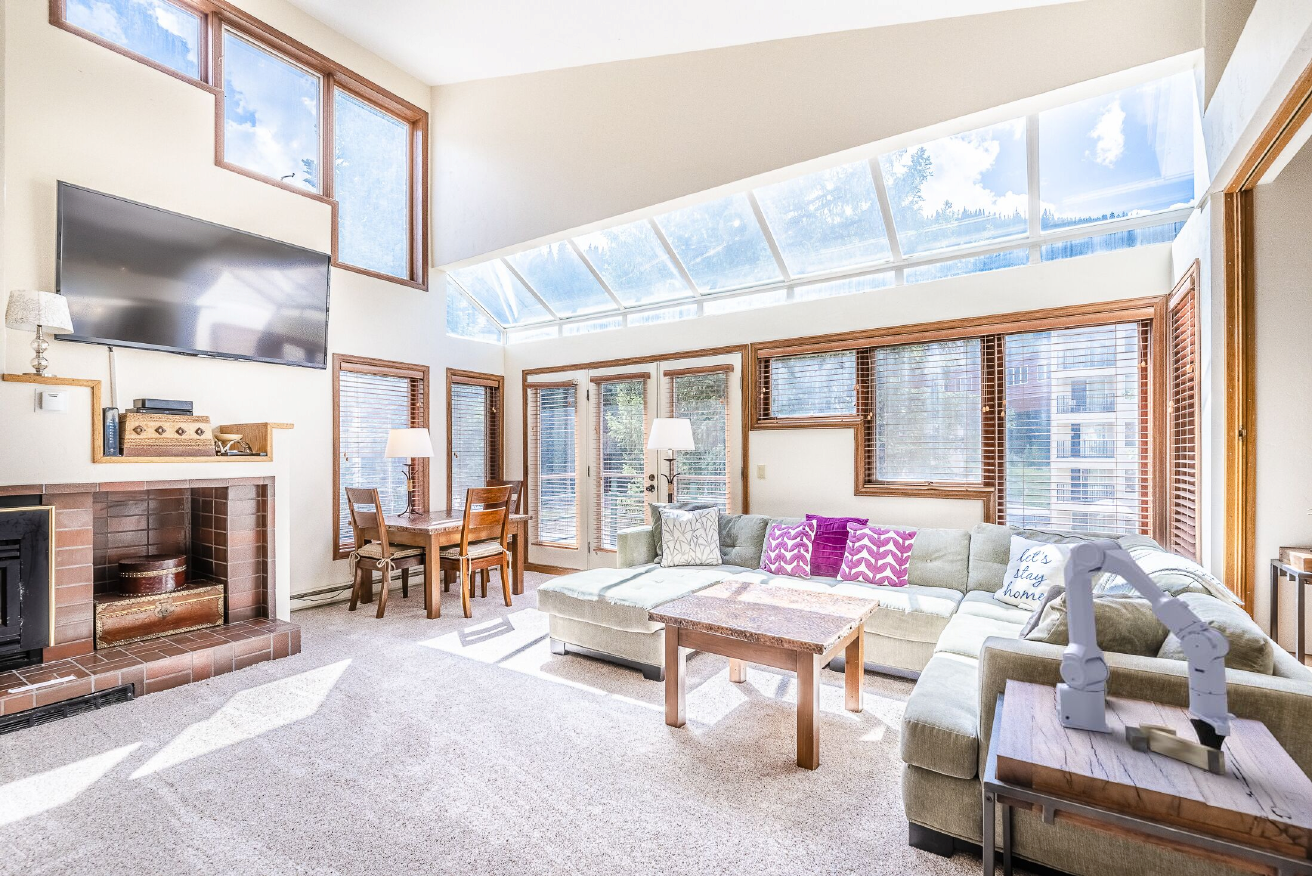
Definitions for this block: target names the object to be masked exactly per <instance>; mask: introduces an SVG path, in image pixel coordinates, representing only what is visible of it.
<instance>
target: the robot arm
mask: <svg viewBox="0 0 1312 876" xmlns="http://www.w3.org/2000/svg"><path fill="white" fill-rule="evenodd" d="M1069 551H1070V555H1069V557H1068V559H1067V561H1066V564H1065V565H1064V567H1063V578H1064V579H1063V580H1064V581H1063V583H1064V591H1065V606H1066V619H1067V629H1068V630H1067V631H1068V644H1067V646H1066V648H1065V649H1064V651H1063V652H1062V661H1061V664H1060V666H1059V672H1060V673H1059V674H1060V676H1061V678H1062V679H1063V681H1064V682H1065V683H1061V682H1060V683H1059V682H1058V683H1056V688H1055V689H1056V714H1057V715H1056V716H1057V718H1058V719H1059V722H1060V723H1061V726H1062V727H1065V728H1074V729H1080V730H1086V731H1091V732H1092V731H1093V732H1100V733H1107V734H1108V733H1109V734H1112V730H1111V728H1110V727H1109V725H1108V724H1107V720H1106V719H1107V718H1106V702H1105V699H1106V698H1104V681H1107V680H1108V679H1109V677H1110V667H1109V665H1108V664H1107V662H1106V660H1105V657H1104V651H1102V649H1101V648H1100V647H1099V646H1098V642H1097V632H1096V631H1097V630H1096V619H1095V607H1094V595H1093V594H1094V593H1093V582H1092V580H1093V578H1094V577H1095V576H1097V575H1098V574H1100V572H1103V573H1107V574H1112V575H1117V576H1120V577H1121V578H1123V579H1122V580H1124V581H1125V582H1127V583H1128V584H1129V585H1130V586H1131V587H1132V588H1133V589H1134V590H1135V591H1137V592H1138V593H1139V595H1141V596H1142V597H1143V598H1144V599H1146V601H1148V602H1149V603H1150V604H1151V607H1152V608H1151V611H1152V614H1153V615H1154V616H1155V617H1156V618H1157V619H1158V620H1159V621H1160V622H1161V624H1163V625H1164V626H1165V627H1166V629H1168V631H1170V632H1171V633H1172V634H1173V635H1174V636H1175V637H1176V638H1177V639H1178V640H1179V641H1180V642H1179V645H1180V649H1181V651H1183V653H1184V654H1185V655H1186V658H1187V674H1188V675H1187V677H1188V692H1189V693H1188V694H1189V695H1188V696H1189V707H1188V713H1189V714H1190V715H1191V716H1193V717H1196V718H1189V722H1190V724H1191V725H1192V727H1193V728H1194V730H1195V733H1196V735H1197V737H1198V741H1199V744H1201V745H1204V746H1207V747H1210V748H1215V749H1218V750H1221V751H1222V746H1223V743H1224V741H1225V739H1226V738H1227V737H1231V736H1232V735H1231V726H1230V721H1236V720H1237V718H1236V715H1234V714H1233V713H1230V712H1229V711H1228V710H1229V709H1228V696H1227V695H1228V694H1227V680H1226V679H1227V677H1226V666H1225V664H1226V663H1225V657H1224V656H1225V655H1227V654H1228V652H1229V651H1230V643H1229V641H1228V639H1227V637H1226V635H1224V633H1223V632H1222V631H1221V630H1219V629H1217V628H1214V627H1211V626H1210V625H1209V624H1208V623H1207V622H1206V621H1205V622H1204V621H1203V620H1201V618H1199V616H1197V615H1196V614H1195V613H1194V612H1193V611H1192V610H1191V608H1189V607H1190V604H1189V603H1188V602H1187V601H1185V600H1181V599H1179V598H1178V597H1174V596H1169V595H1167V594H1166V592H1164V591H1163V589H1161V588H1160V586H1158V584H1157V583H1156V582H1155V581H1154V580H1153V579H1152V578H1151V577H1150V575H1148V573H1146V572H1145V571H1144V570H1143V568H1142V567H1141V566H1139V564H1138V563H1137V562H1136V561H1135V560H1134V558H1133V557H1132V555H1131V553H1130V552H1129V551H1128V550H1127V549H1125V548H1123V547H1122V545H1121V544H1120V543H1119V542H1118V541H1116V540H1113V539H1110V538H1109V539H1108V538H1105V539H1104V538H1103V539H1099V540H1082V541H1080V542H1078V543H1077V544H1075V545H1074V546H1072V547H1071V548H1070V550H1069Z"/></svg>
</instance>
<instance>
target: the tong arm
mask: <svg viewBox="0 0 1312 876" xmlns="http://www.w3.org/2000/svg"><path fill="white" fill-rule="evenodd" d="M1149 733H1150V747H1149V748H1150V749H1149V750H1151V751H1153V752H1156V753H1159V754H1162V755H1164V756H1168V757H1171V758H1173V759H1175V760H1176V759H1177V760H1179V761H1182V762H1185V763H1187V764H1191V765H1193V766H1196V767H1198V768H1201V769H1204V770H1208V771H1209V772H1211V773H1214V774H1218V775H1222V774H1225V773H1226V763H1225V762H1226V761H1225V751H1223V750H1222V749H1221V750H1218V749H1215V748H1210V747H1207V746H1204V745H1201V744H1200V743H1198V742H1194V741H1191V740H1188V739H1185V738H1183V737H1179V736H1177V735H1176V736H1174V735H1170V734H1167V733H1164V732H1161V731H1158V730H1155V729H1152V730H1149Z"/></svg>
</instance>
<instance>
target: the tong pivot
mask: <svg viewBox="0 0 1312 876" xmlns="http://www.w3.org/2000/svg"><path fill="white" fill-rule="evenodd" d="M1138 724H1139V725H1138V726H1139V727H1135V726H1131V725H1130V726H1128V725H1125V726H1124V728H1125V741H1126V742H1127V744H1128V745H1129V746H1130V748H1131V749H1132V750H1133V751H1139V752H1145V753H1146V752H1147V750H1148V749H1147V748H1150V733H1149V730H1152V729H1155V730H1158V731H1161V732H1164V733H1167V734H1170V735H1174V736H1177V730H1176V729H1175V728H1174V727H1172V726H1166V725H1165V726H1164V725H1157V724H1148V723H1143V722H1142V723H1141V722H1139V723H1138Z"/></svg>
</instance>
